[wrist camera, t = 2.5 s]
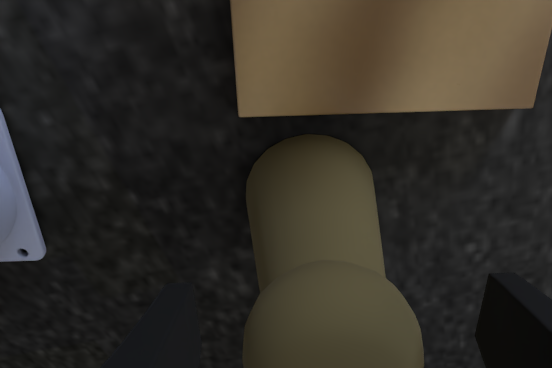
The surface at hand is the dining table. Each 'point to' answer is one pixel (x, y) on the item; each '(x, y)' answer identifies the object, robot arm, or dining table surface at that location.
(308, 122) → the dining table surface
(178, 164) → the dining table surface
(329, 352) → the olive peg figure
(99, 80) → the dining table surface
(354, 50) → the wooden stepped pedestal
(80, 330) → the dining table surface
